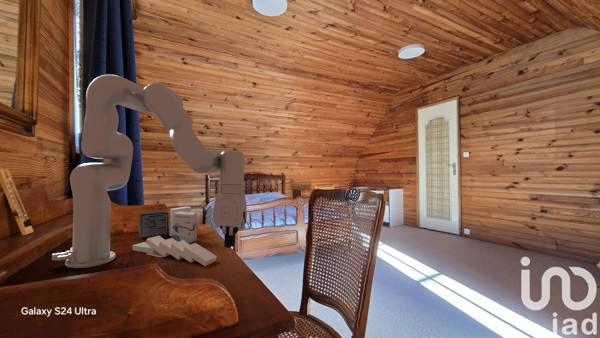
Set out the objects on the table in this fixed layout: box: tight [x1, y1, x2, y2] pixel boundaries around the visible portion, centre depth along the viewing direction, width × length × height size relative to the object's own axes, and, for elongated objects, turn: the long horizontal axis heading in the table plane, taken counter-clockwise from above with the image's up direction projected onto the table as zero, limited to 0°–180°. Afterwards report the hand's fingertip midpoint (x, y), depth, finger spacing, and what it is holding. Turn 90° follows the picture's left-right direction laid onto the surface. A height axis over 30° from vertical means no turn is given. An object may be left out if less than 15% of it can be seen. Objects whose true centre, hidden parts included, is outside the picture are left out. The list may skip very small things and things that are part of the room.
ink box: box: [171, 211, 199, 244], centre depth 108 cm, size 9×5×12 cm, turn 84°
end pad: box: [146, 252, 165, 259], centre depth 93 cm, size 7×7×1 cm
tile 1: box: [183, 242, 218, 267], centre depth 87 cm, size 2×5×10 cm
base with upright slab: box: [168, 206, 192, 237], centre depth 118 cm, size 9×9×12 cm
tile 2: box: [170, 240, 197, 263], centre depth 89 cm, size 2×5×10 cm
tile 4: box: [145, 236, 172, 258], centre depth 93 cm, size 2×5×10 cm
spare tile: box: [132, 241, 157, 254], centre depth 95 cm, size 2×5×10 cm
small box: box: [138, 209, 169, 239], centre depth 114 cm, size 11×6×10 cm, turn 130°
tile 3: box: [159, 237, 184, 261], centre depth 91 cm, size 2×5×10 cm
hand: (229, 246), depth 83 cm, fingers closed
